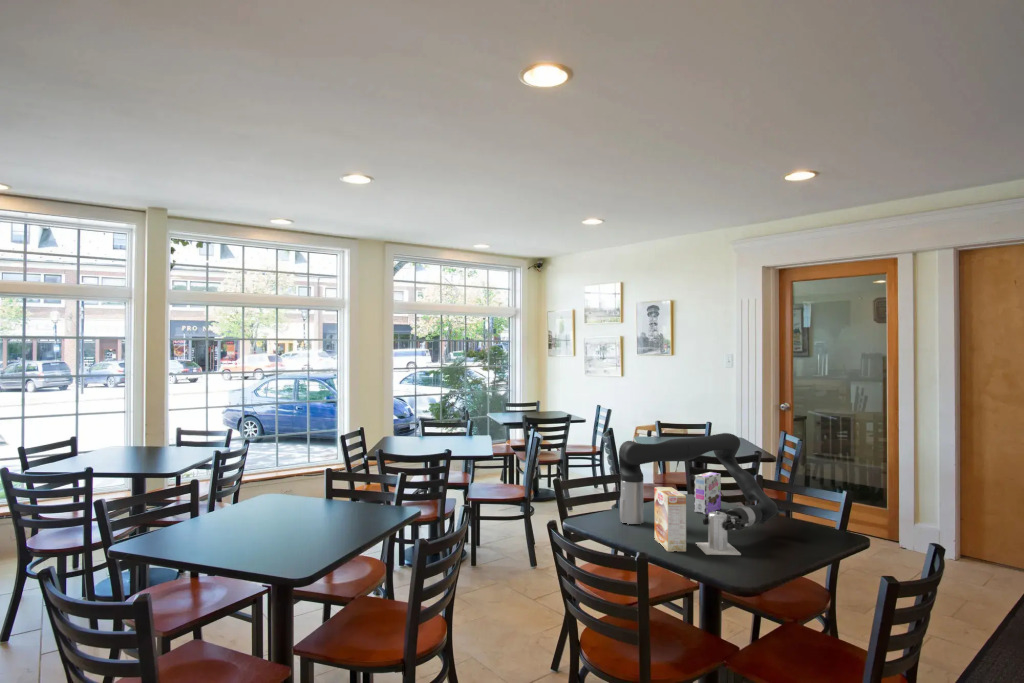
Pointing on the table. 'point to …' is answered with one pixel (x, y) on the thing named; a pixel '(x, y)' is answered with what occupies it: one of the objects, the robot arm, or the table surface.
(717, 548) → the faceted metal canister
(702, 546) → the white mat
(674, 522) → the coffeecake box
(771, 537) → the table surface
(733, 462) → the robot arm
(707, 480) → the candy box
